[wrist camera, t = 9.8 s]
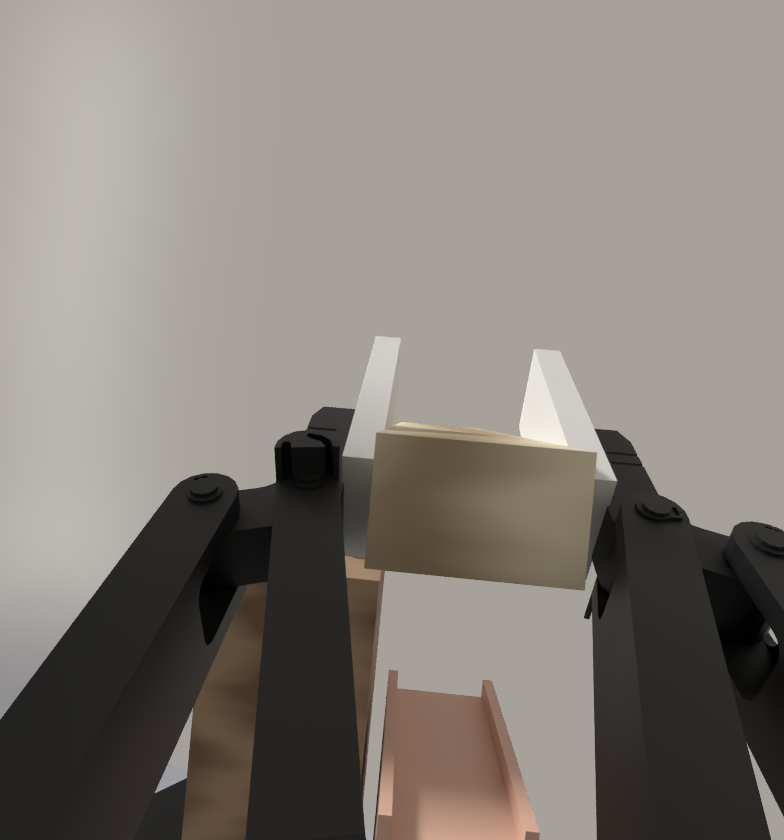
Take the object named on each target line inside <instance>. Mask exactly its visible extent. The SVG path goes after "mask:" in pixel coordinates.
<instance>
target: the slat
mask: <svg viewBox="0 0 784 840" xmlns="http://www.w3.org/2000/svg"><path fill="white" fill-rule="evenodd" d="M596 461H597V452H593V451H588V450H583V449H578V448H573V447H568V446H563V445H558V444H553V443H548V442H543V441H538V440H533V439H528V438H523V437H517V436H512V435H508V434H503V433H498V432H493V431H487V430H482V429H478V428H468V427H457V426H446V425H435V424H423V423H412V422H401V423H398V424H396V425H394V426H393V427H390V428H388V429H386V430H381V431H379V432H376V439H375V450H374V462H373V473H372V484H371V496H370V507H369V518H368V530H367V541H366V553H365V564H364V568H365V569H375V570H385V571H395V572H405V573H415V574H425V575H435V576H445V577H455V578H465V579H474V580H485V581H494V582H504V583H514V584H524V585H534V586H545V587H554V588H564V589H574V590H585V580H586V569H587V559H588V548H589V537H590V526H591V515H592V504H593V493H594V483H595V472H596Z"/></svg>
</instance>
